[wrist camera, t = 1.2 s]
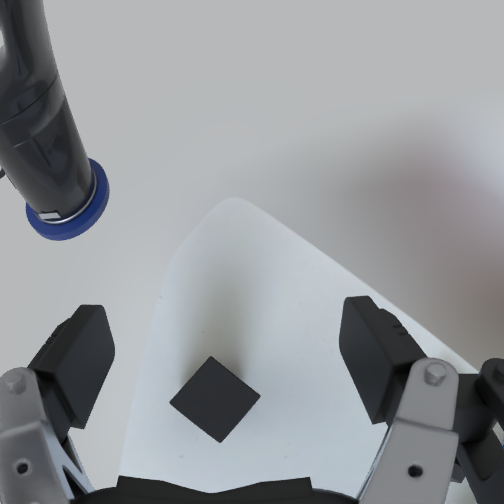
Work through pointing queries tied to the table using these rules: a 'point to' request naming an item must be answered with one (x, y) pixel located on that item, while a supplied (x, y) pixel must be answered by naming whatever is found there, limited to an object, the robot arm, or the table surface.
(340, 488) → the table surface
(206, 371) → the block
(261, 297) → the table surface
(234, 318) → the table surface
